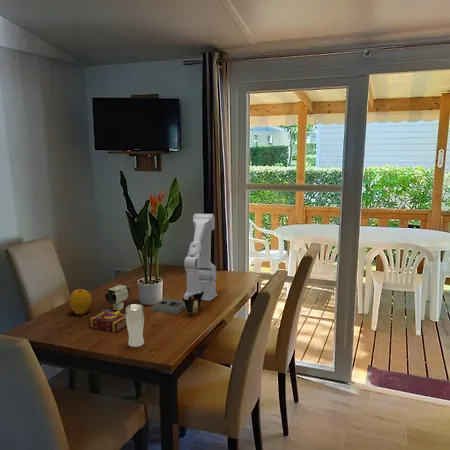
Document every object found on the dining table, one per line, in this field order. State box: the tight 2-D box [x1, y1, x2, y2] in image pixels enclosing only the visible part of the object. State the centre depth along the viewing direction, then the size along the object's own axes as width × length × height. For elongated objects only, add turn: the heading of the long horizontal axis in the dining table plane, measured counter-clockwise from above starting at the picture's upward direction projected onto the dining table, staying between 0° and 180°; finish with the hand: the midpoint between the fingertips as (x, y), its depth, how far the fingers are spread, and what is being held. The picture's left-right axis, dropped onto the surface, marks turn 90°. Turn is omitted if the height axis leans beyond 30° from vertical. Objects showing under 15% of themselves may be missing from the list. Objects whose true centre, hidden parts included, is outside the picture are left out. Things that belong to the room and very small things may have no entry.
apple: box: [69, 288, 93, 315], centre depth 186 cm, size 10×10×12 cm
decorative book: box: [88, 308, 127, 333], centre depth 173 cm, size 11×16×5 cm
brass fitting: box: [190, 299, 199, 315], centre depth 186 cm, size 4×4×6 cm
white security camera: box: [104, 284, 131, 312], centre depth 190 cm, size 6×12×12 cm, turn 149°
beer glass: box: [125, 303, 145, 348], centre depth 154 cm, size 7×7×15 cm
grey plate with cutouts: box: [151, 297, 187, 315], centre depth 192 cm, size 12×14×2 cm
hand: (193, 309), depth 186 cm, fingers open, 7 cm apart
